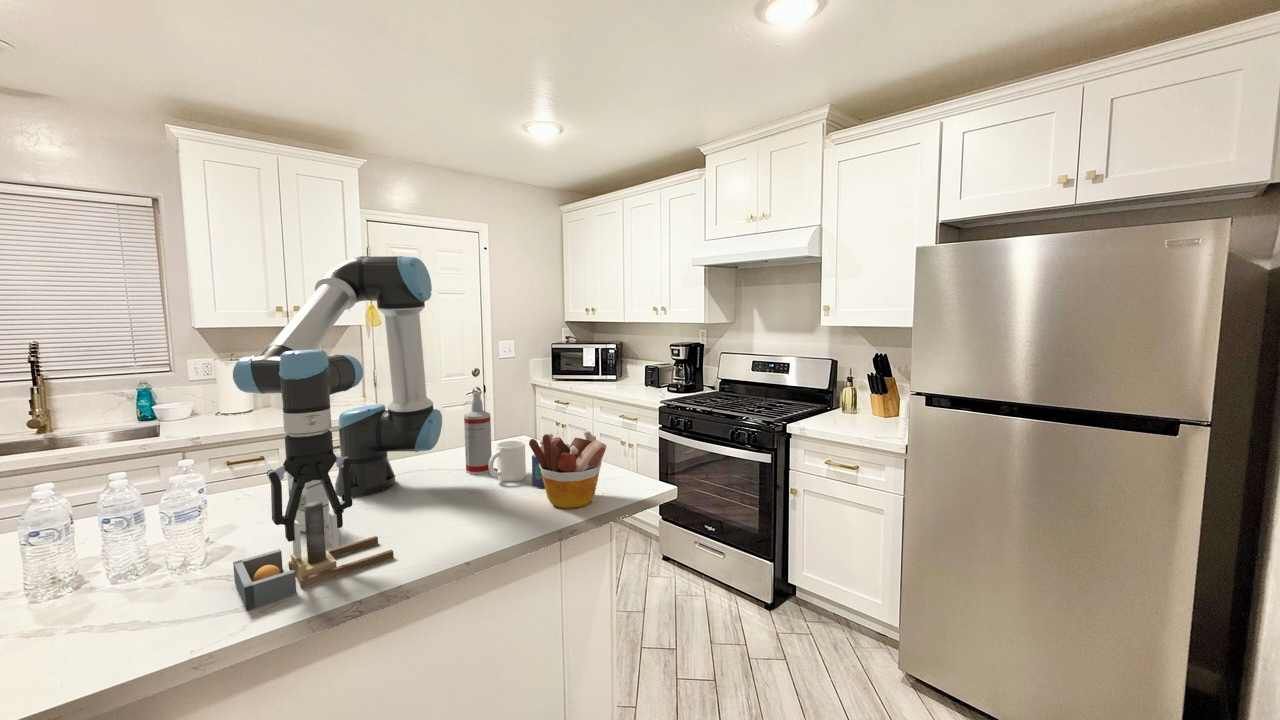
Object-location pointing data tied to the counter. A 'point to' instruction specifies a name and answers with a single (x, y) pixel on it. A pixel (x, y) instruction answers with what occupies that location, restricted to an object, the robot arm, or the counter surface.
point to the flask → (536, 474)
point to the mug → (509, 461)
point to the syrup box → (310, 500)
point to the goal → (263, 580)
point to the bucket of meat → (569, 468)
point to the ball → (266, 572)
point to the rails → (350, 566)
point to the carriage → (313, 544)
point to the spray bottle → (477, 438)
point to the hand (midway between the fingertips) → (316, 549)
